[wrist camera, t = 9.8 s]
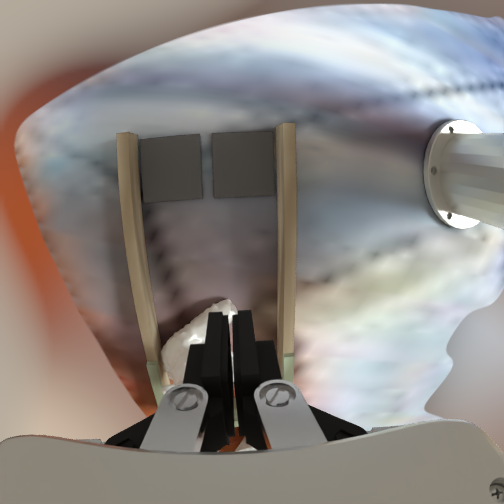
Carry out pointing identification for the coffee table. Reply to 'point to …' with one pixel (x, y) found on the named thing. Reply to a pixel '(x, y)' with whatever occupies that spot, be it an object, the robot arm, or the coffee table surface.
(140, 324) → the lane
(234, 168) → the mats
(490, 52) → the coffee table surface
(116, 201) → the coffee table surface
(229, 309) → the sitting furry creature
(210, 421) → the robot arm
